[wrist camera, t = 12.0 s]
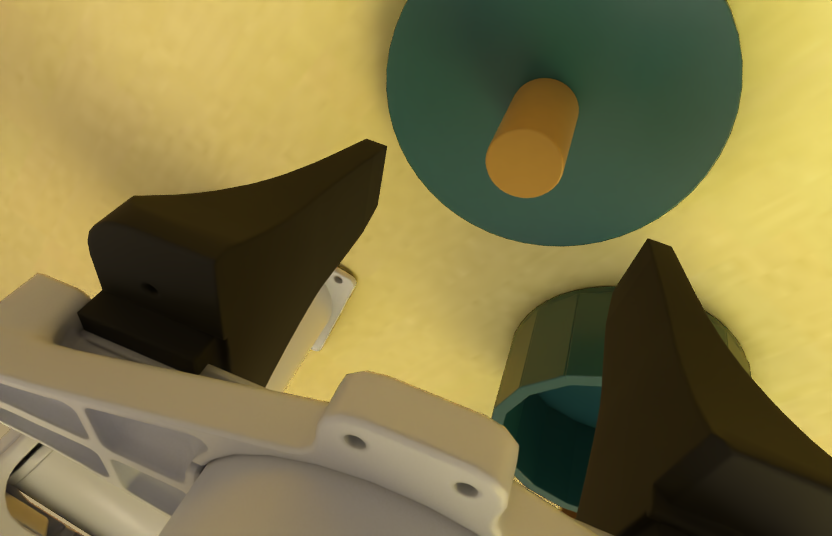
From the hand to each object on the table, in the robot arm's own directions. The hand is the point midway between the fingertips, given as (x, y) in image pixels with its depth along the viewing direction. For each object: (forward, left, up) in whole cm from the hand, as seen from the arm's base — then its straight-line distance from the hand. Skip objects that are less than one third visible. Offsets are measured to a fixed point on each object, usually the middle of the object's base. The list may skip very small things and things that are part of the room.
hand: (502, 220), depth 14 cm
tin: (+11, -10, -8) cm, 17 cm away
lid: (0, 0, -7) cm, 7 cm away
